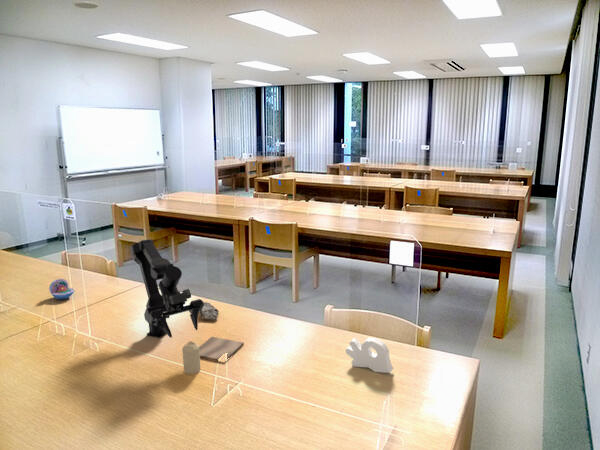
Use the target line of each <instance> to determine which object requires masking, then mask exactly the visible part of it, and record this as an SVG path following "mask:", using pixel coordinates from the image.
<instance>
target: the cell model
mask: <svg viewBox="0 0 600 450" xmlns="http://www.w3.org/2000/svg"><path fill="white" fill-rule="evenodd" d="M48 288H49V289H48V290H49V294H50V295H51V296H53V297H54V298H55V299H57V300H65V299H66V300H67V299H69V298H71V296H73V294H74V293H75V292H76V290H75V289H74V288H73V287H69V282H68V281H67V280H66V279H64V278H58V279H55V280H53V281H52V282H51V283H50V284H49V287H48Z"/></svg>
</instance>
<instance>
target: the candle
mask: <svg viewBox="0 0 600 450" xmlns="http://www.w3.org/2000/svg"><path fill="white" fill-rule="evenodd" d="M199 347H200V345H199V344H198V343H196V342H193V341H188V342H187V343H186V344H184V345H183V347H182V359H183V360H182V362H183V372H184V373H185V374H186V375H188V376H189V375H196V374H199V372H200V371H201V368H202V367H201V358H200V352H199Z"/></svg>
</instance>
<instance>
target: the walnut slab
mask: <svg viewBox="0 0 600 450" xmlns="http://www.w3.org/2000/svg"><path fill="white" fill-rule="evenodd" d="M243 346H244V342H242V341H238V340H234V339H233V340H231V339H226V338H222V337H217V336H210V337H209V338H208V339H207V340H206V341H204V342H203V343H202V344H200V345H199V352H200V359H202V360H203V359H204V360H209V361H212V362H213V361H214V362H218V359H219V358H220V357H221V356H222V355H223V354H225V353H228V354H227V359H228V358H230V357H231V356H232V357H233V356H234V355H235V354H236V353H237V352H238V351H239V350H240V349H242V347H243ZM232 357H231V358H232ZM231 358H230V359H231Z"/></svg>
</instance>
